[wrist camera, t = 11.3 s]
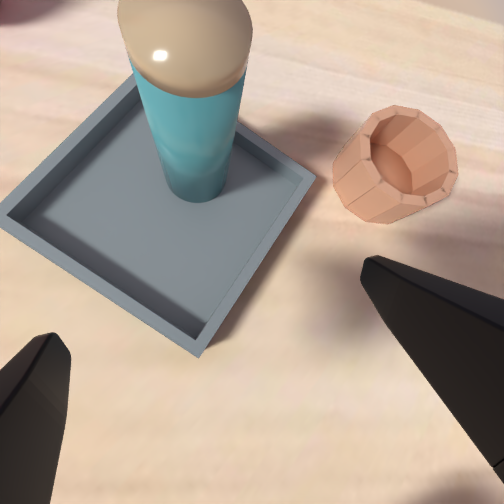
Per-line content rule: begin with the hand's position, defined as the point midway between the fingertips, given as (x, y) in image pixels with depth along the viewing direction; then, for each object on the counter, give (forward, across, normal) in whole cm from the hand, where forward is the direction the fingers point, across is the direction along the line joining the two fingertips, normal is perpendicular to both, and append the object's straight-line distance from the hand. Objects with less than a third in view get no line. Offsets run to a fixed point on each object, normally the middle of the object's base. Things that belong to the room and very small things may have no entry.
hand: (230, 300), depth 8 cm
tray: (+15, +1, +4) cm, 16 cm away
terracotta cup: (+15, -17, +4) cm, 23 cm away
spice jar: (+16, -1, +1) cm, 16 cm away
